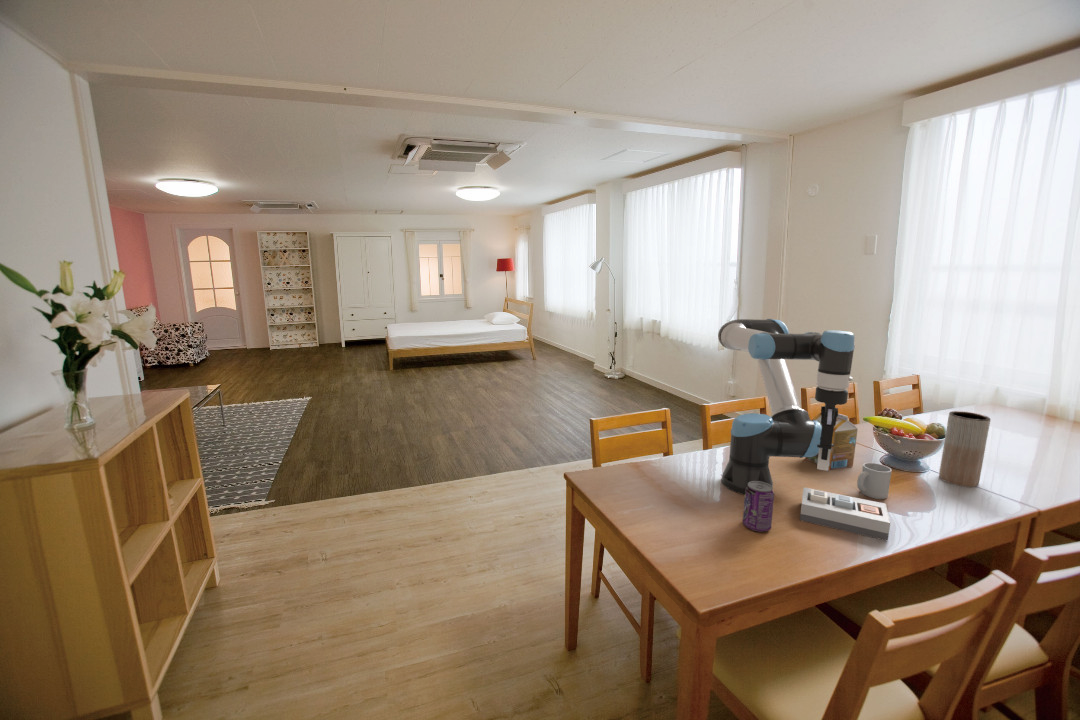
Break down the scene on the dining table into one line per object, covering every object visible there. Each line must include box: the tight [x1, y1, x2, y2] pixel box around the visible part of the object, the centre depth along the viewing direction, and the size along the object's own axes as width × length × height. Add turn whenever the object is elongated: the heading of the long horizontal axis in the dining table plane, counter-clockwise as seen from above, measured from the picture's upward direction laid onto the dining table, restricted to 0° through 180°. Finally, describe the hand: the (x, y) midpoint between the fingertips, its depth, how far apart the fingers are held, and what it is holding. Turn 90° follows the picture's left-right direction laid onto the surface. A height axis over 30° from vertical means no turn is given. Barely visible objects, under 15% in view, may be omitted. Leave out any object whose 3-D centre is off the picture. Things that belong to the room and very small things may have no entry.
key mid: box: [834, 493, 853, 509], centre depth 131 cm, size 4×4×3 cm
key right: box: [860, 504, 879, 515], centre depth 128 cm, size 4×4×3 cm
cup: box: [856, 462, 892, 500], centre depth 146 cm, size 7×10×9 cm
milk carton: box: [804, 412, 858, 471], centre depth 170 cm, size 11×11×19 cm
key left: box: [810, 488, 828, 504], centre depth 134 cm, size 4×4×3 cm
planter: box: [938, 410, 991, 488], centre depth 155 cm, size 10×10×23 cm
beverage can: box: [742, 481, 775, 533], centre depth 127 cm, size 7×7×12 cm
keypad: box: [799, 487, 891, 542], centre depth 131 cm, size 20×12×5 cm, turn 59°
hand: (822, 469), depth 132 cm, fingers closed
